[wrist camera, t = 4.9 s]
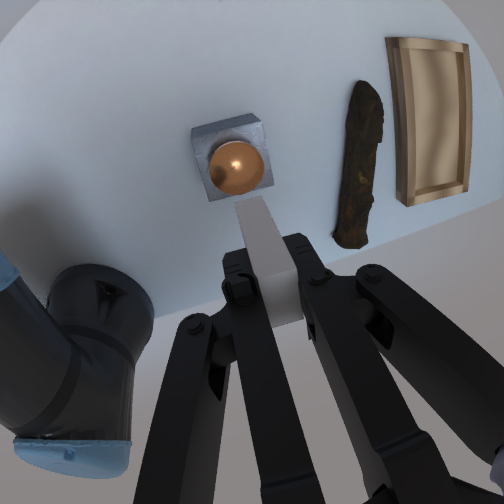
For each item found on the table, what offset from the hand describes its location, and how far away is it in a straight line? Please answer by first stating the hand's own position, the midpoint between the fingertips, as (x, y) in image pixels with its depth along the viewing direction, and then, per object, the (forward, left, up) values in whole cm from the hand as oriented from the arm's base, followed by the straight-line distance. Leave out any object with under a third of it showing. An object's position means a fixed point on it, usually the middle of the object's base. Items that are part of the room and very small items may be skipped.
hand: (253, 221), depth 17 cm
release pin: (0, 0, -16) cm, 16 cm away
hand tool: (+13, -5, -16) cm, 21 cm away
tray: (+25, 0, -16) cm, 29 cm away
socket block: (0, 0, -16) cm, 16 cm away
